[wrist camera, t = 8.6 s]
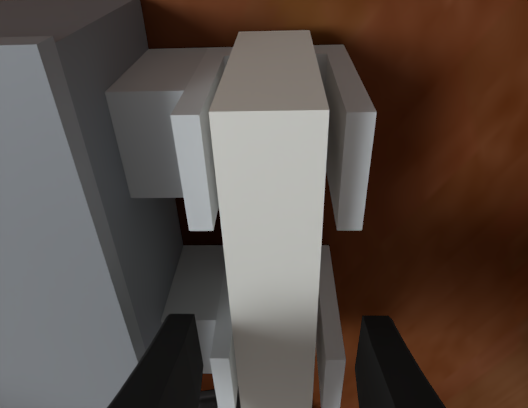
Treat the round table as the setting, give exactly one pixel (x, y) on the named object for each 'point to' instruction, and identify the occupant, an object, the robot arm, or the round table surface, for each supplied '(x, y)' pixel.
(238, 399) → the zipper pull
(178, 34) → the round table surface
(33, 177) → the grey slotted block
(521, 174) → the round table surface
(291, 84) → the door panel
